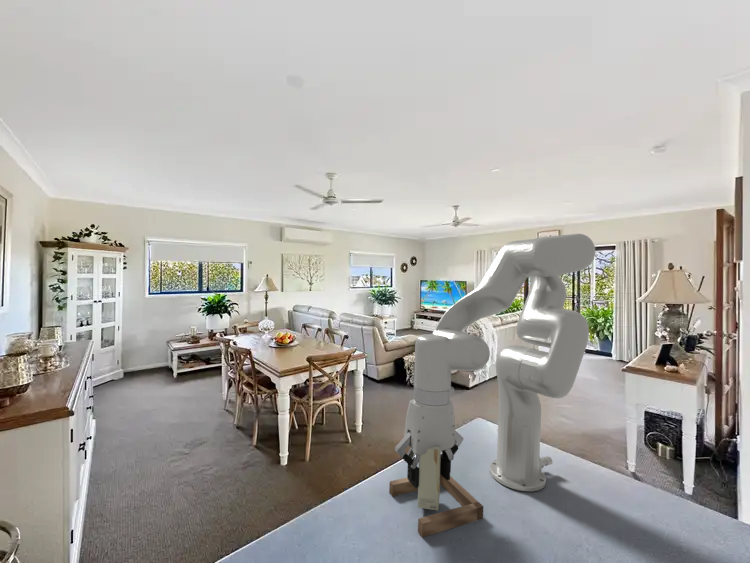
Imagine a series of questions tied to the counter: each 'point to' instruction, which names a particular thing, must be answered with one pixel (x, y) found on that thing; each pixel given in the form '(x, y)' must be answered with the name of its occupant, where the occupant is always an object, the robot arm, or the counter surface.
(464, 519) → the open wooden u frame
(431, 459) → the skincare box
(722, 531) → the counter surface
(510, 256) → the robot arm
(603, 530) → the counter surface
